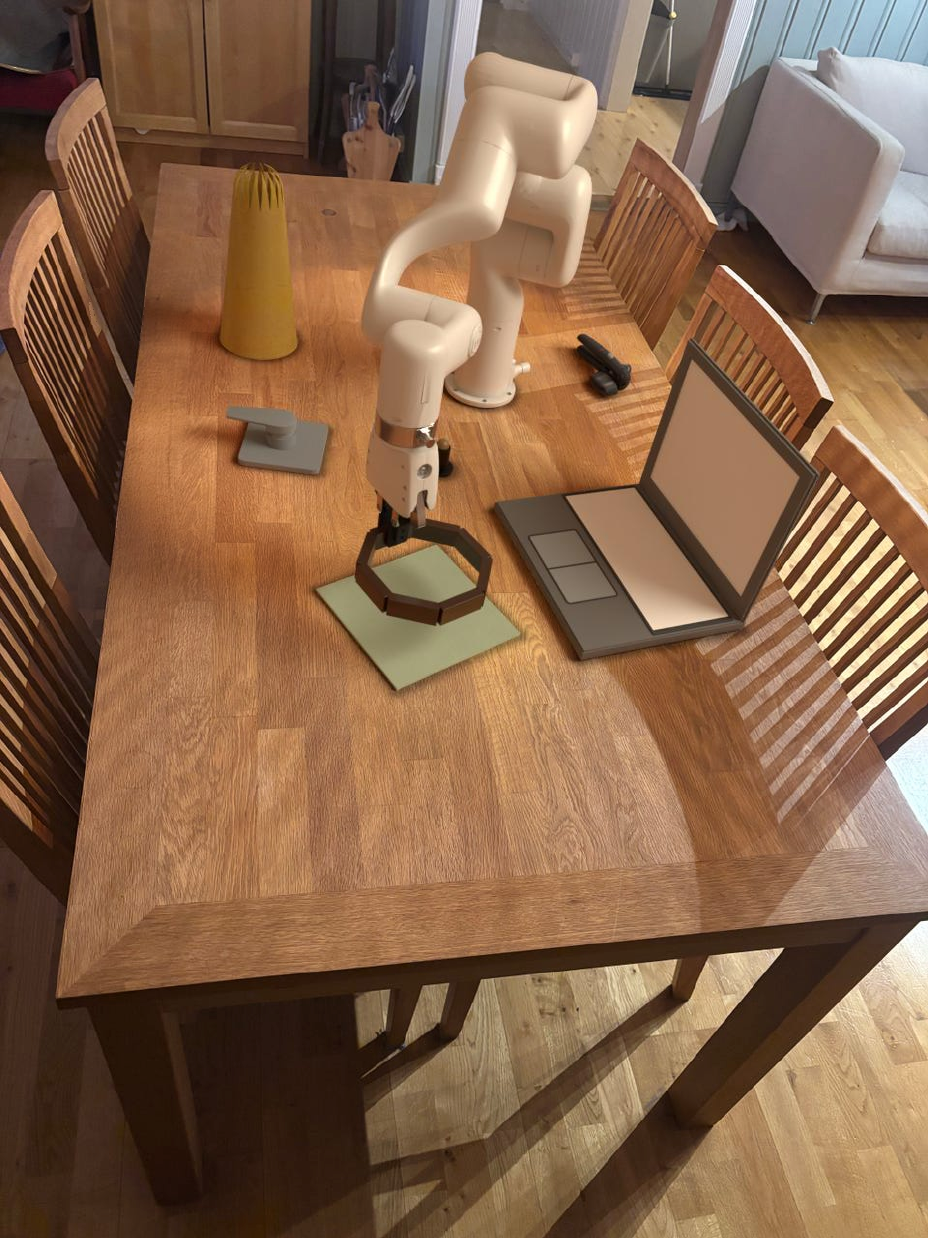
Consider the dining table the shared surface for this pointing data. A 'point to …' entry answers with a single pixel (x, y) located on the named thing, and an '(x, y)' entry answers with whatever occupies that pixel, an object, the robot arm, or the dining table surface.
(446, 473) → the post
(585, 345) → the can opener
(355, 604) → the sage mat
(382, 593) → the hanging ring
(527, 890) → the dining table surface
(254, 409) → the shower valve
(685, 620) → the laptop
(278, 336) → the piping tip
